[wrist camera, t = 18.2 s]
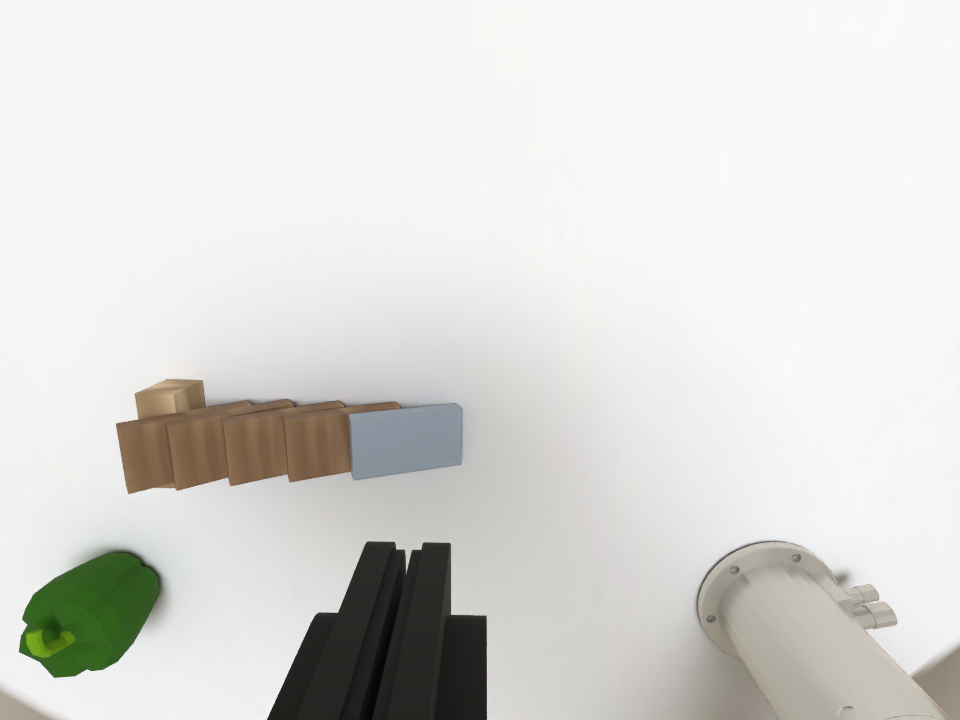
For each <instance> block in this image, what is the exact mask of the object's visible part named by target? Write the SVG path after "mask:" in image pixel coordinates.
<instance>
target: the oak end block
mask: <svg viewBox="0 0 960 720" xmlns="http://www.w3.org/2000/svg"><path fill="white" fill-rule="evenodd" d="M135 399H136V405H137V412H138V418H139V419H145V418H150V417H156V416H162V415H167V414H173V413H179V412H184V411H190V410H195V409H201V408H206V407H205V399H204V390H203V382H202V380H171V379H167V380H165V381H163V382H160V383H158V384H156V385H154V386H151V387H149V388H147V389H144V390H142V391H140V392H138V393H135ZM154 488H175V486H174V484H173V483H170V484H166V485H162V486H158V487H154Z"/></svg>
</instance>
